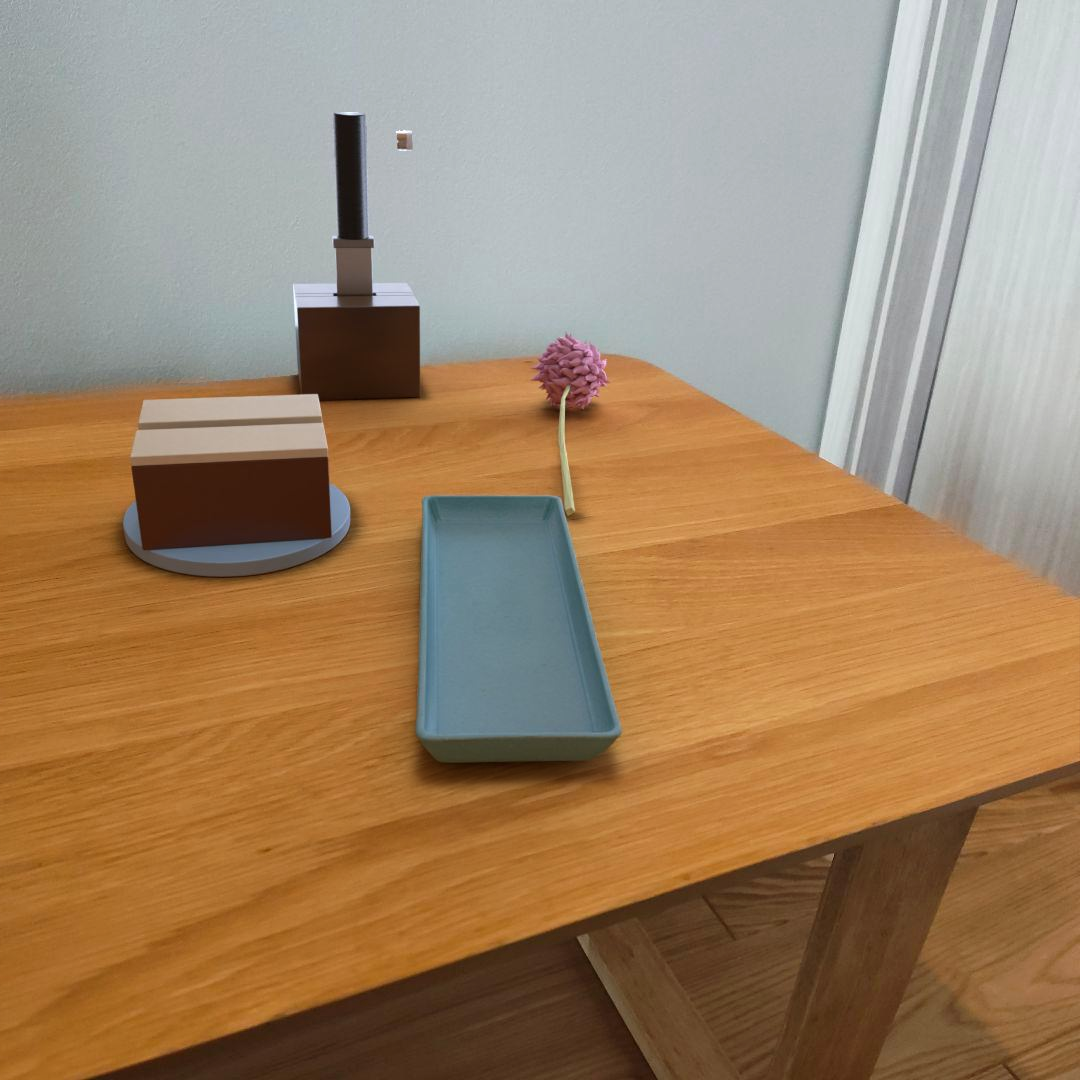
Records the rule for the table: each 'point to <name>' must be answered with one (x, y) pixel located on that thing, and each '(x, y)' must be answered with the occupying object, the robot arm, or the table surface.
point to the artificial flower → (570, 388)
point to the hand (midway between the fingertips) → (352, 139)
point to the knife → (352, 206)
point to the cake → (232, 485)
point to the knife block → (357, 342)
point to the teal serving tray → (507, 636)
